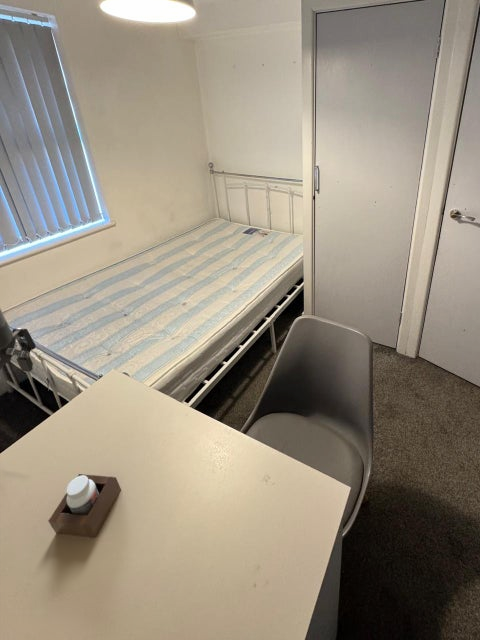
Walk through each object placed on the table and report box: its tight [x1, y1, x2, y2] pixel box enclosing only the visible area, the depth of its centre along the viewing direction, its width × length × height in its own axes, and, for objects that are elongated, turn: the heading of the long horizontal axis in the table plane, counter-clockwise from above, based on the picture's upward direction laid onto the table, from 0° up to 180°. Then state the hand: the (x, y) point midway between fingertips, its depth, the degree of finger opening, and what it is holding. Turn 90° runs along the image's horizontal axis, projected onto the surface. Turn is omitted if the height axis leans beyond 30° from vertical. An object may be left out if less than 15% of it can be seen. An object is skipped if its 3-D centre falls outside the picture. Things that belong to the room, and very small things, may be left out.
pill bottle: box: [66, 474, 99, 515], centre depth 71 cm, size 5×5×10 cm
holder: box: [48, 473, 122, 539], centre depth 72 cm, size 9×9×5 cm
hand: (10, 385), depth 70 cm, fingers open, 8 cm apart
